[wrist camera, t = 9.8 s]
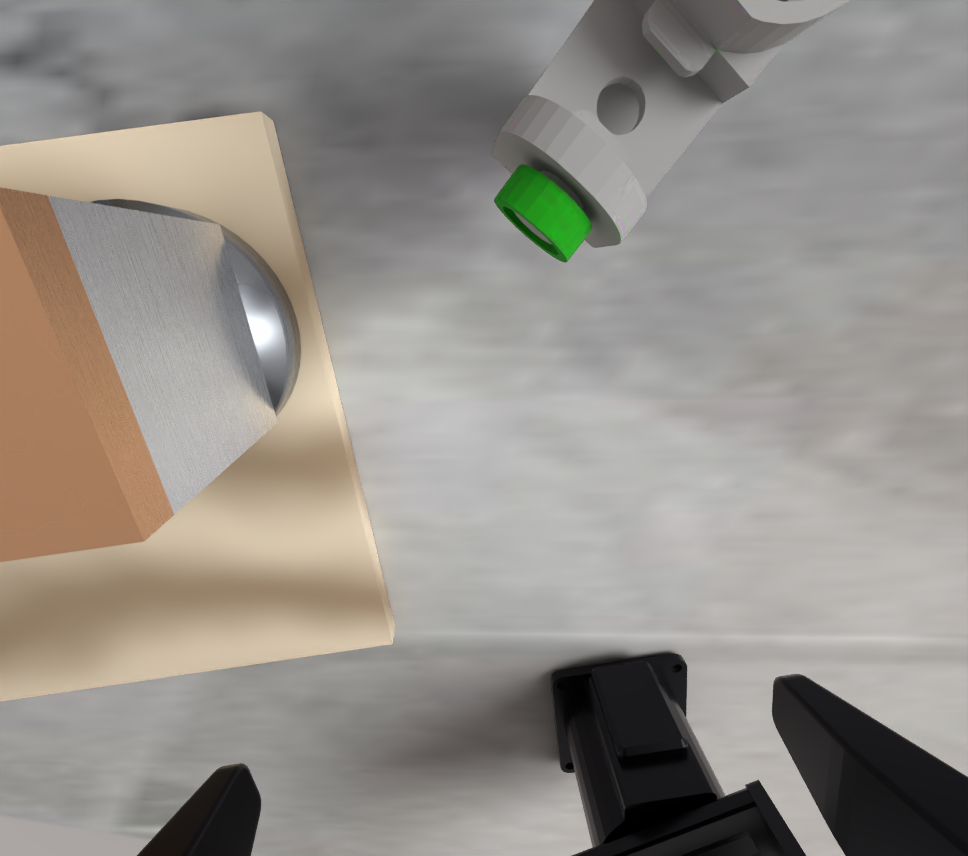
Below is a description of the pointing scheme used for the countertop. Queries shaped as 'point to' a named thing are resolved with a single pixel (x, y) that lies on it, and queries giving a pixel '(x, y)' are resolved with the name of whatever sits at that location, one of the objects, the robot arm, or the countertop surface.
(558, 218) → the mechanical component
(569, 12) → the countertop surface
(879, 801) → the robot arm
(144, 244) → the tan box
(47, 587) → the workboard
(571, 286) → the countertop surface
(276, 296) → the grey frying pan
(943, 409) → the countertop surface
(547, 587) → the countertop surface
